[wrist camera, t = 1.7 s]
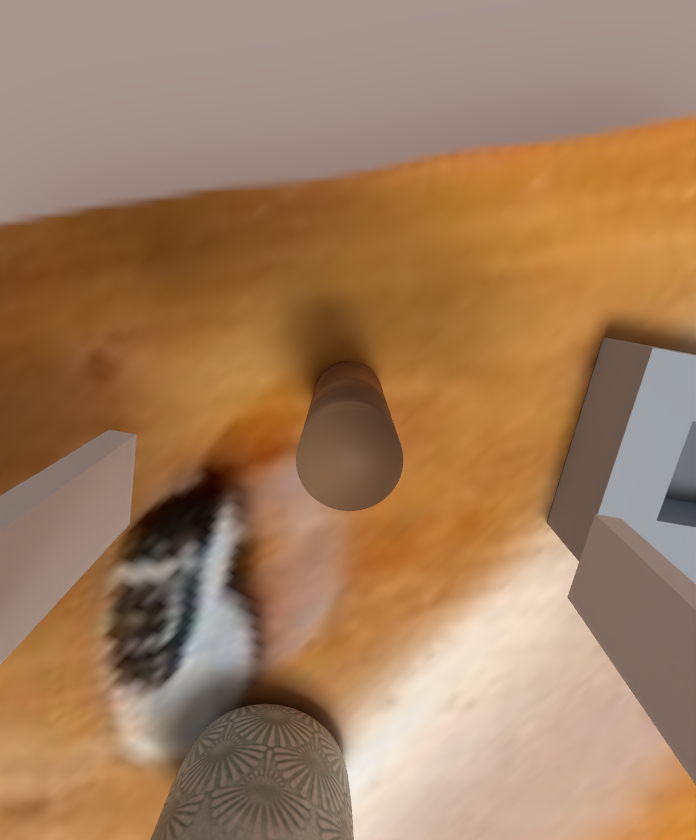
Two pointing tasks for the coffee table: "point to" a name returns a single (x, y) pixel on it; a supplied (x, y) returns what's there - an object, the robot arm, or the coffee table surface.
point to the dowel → (349, 440)
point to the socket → (634, 452)
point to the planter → (260, 781)
